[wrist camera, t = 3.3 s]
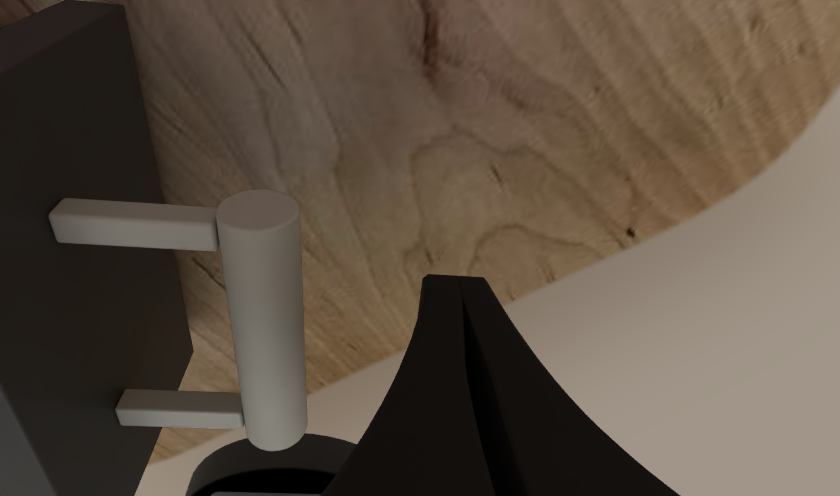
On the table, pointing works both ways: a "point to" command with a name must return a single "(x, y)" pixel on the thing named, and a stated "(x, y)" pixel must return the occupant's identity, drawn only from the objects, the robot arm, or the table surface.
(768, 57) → the table surface
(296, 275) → the drawer
